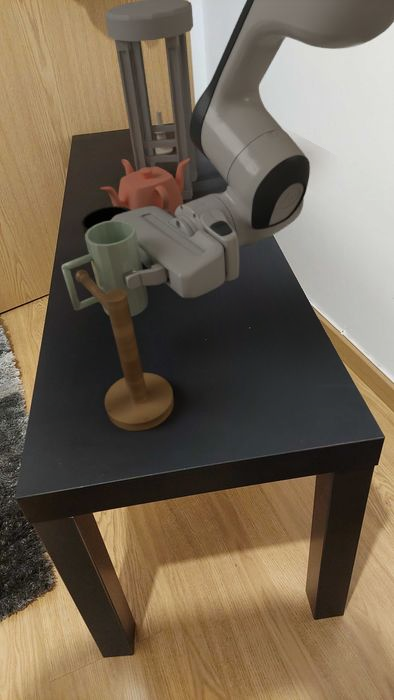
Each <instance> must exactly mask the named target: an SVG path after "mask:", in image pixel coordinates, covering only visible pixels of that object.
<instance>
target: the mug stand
mask: <svg viewBox="0 0 394 700" xmlns="http://www.w3.org/2000/svg"><path fill="white" fill-rule="evenodd" d="M74 278H75V280H76V282H77V283H79V284H82V285H83V286H84V287H85V289H87V290H88V292H89V293H90V294H91V295H92V297H93V296H94V297H95V298H96V299H97V300H98V301H99V302H98V303H99V304H101V305H103V306H104V307H105V308H106V309H107V310H108V313H109V315H108V317H109V320H110V325H111V328H112V334H113V337H114V341H115V344H116V345H115V346H116V349H117V353H118V357H119V362H120V365H121V369H122V373H123V377H122V378H120V379H119V380H117V381H115V382H114V383H113V384H112V385H111V386H110V387H109V389H108V390H107V391H106V394H105V397H104V408H105V411H106V414H107V416H108V419H109V421H110V422H111V424H113V425H114V426H116V427H117V428H119V429H122V430H125V431H129V432H141V431H147V430H150V429H152V428H155V427H157V426H159V425H161V424H162V423H163V422H164V421H166V419H167V418H169V416H170V415H171V413H172V411H173V409H174V404H175V398H174V393H173V392H174V391H173V388H172V386H171V383H169V382H168V381H167V380H166V378H164V377H162V376H161V375H158V374H156V373H151V372H144V371H143V366H142V361H141V356H140V351H139V346H138V342H137V337H136V333H135V327H134V324H133V318H132V317H131V313H130V308H129V303H128V298H127V294H126V292H125V291H124V290H122V289H114V290H111V291H109V292H107V293H106V294H105V293H104V292H103V291H102V290H101V289H100V287H99V286H98V285H97V283H96V281H94V280H93V279H92V278H91V277H90V275H89V272H88V271H87V270H86V269H79V270H77V271H76V273H75V277H74ZM103 306H102V307H103Z"/></svg>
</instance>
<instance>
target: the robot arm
mask: <svg viewBox="0 0 394 700" xmlns="http://www.w3.org/2000/svg"><path fill="white" fill-rule="evenodd" d="M393 24H394V0H246V1H245V3H244V6H243V8H242V9H241V12H240V14H239V16H238V19H237V21H236V23H235V25H234V27H233V30H232V31H231V32H232V33H230V34H231V35H230V36H229V39H228V41H227V44H226V46H225V48H224V51H223V52H222V55H221V58H220V59H219V62H218V64H217V66H216V69H215V71H214V73H213V75H212V78H211V80H210V82H209V83H208V84H207V86H206V88H205V90H203V92H202V94H201V95H200V97H199V98H198V100H197V102H196V103H195V105H194V107H193V108H192V116H191V121H190V138H191V141H192V143H193V144H194V145H195V148H196V149H197V150H198V151H199V152H200V153H201V154H202V155H203V156H204V157H205V158H206V159H207V160H208V161H209V162H210V163H211V165H212V166H213V167H214V168H215V169H216V171H217V172H218V173H219V175H220V176H221V177H222V179H223V180H224V181H225V182H226V184H227V187H226V189H225V190H224V191H222V192H219V193H209V194H207V195H204V196H201V197H198V198H196V199H193V200H191V201H188V202H186V203H183V205H180V206H178V207H177V209H176V210H175V213H174V214H172V213H171V212H170V211H169V210H166V209H163V210H162V209H160V208H159V207H156V206H147V207H142V208H138V209H134V210H131V211H128V212H124V213H121V214H118V215H116V216H114V217H113V218H112V219H111V220H123V221H127V222H130V223H131V224H133V225H134V226H135V229H136V234H137V240H138V246H139V251H140V257H141V262H142V266H144V267H145V268H147V269H143V270H141V271H136V270H135V269H132V270H130V271H129V272H125V273H124V274H123V276H122V277H123V280H124V281H123V282H124V284H125V285H126V286H127V287H128V288H129V289H131V290H132V289H135V288H137V287H139V286H146V287H147V286H159V285H161V284H162V285H163V284H166V286H168V287H169V288H170V289H171V290H173V291H174V292H175V293H176V294H177V295H178V296H180V297H181V298H182V299H195V298H198V297H200V296H203V295H205V294H208V293H210V292H211V291H213V290H216V289H217V288H219V287H221V286H222V285H224V283H225V282H231V281H234V280H236V279H238V278H239V276H240V248H243V247H246V246H253V245H256V244H258V243H260V242H262V241H265V240H266V239H269V238H270V237H272V236H273V235H275V234H277V233H279V232H281V231H282V230H284V229H286V228H287V227H288V226H289V225H291V224H292V223H293V222H294V221H296V220H297V218H298V217H299V216H300V214H301V213H302V210H303V207H304V200H305V195H306V193H307V189H308V186H309V180H310V174H311V173H310V172H311V166H310V164H311V163H310V160H309V158H308V157H307V156H306V154H305V153H304V151H303V150H302V149H301V147H300V146H299V145H298V144H297V142H295V141H294V139H293V138H292V136H290V134H289V133H288V132H286V131H285V129H284V128H283V127H282V126H281V125H280V124H279V122H277V120H276V119H275V118H274V116H273V115H272V113H270V111H268V109H267V108H266V106H265V104H264V103H263V100H262V97H261V94H260V93H261V92H260V84H261V83H262V81H263V80H264V77H265V75H266V73H267V72H268V70H269V68H270V66H271V65H272V63H273V61H274V59H275V57H276V55H277V53H278V52H279V50H280V48H281V46H282V44H283V43H284V41H285V39H286V38H288V39H292V40H294V41H297V42H299V43H302V44H305V45H307V46H310V47H315V48H320V49H327V50H329V49H330V50H341V49H349V48H355V47H358V46H361V45H364V44H366V43H368V42H371V41H372V40H374V39H376V38H377V37H379V36H381V35H382V34H383V33H385V32H386V31H387V30H388V29H389V28H390V27H391V26H392V25H393Z"/></svg>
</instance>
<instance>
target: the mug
mask: <svg viewBox="0 0 394 700" xmlns="http://www.w3.org/2000/svg"><path fill="white" fill-rule="evenodd" d="M128 211H131V209H129V208H126V207H120V206H113V205H112V206H105V207H99V208H97V209H95V210H93V211H90V212H89V213H87V214H86V215H85V216H84V217H83V218H82V220H81V227H82V233H83V235H84V237H85V234H86V232H87V231H88V230H89V229H90V228H91V227H93V226H94V225H96V224H99V223H102V222H105V221H111V219H112V218H113V217H114V216H116V215H118V214H121V213H124V212H128ZM90 264H91V265H92V263H91V262H90Z"/></svg>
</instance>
